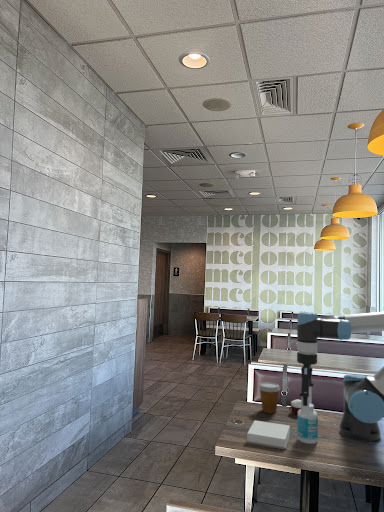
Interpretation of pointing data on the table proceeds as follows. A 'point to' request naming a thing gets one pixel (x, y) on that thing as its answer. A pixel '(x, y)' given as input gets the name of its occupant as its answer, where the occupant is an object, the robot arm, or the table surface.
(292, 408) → the cocoa
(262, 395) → the disposable coffee cup
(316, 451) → the table surface
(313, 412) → the pill bottle
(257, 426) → the block
